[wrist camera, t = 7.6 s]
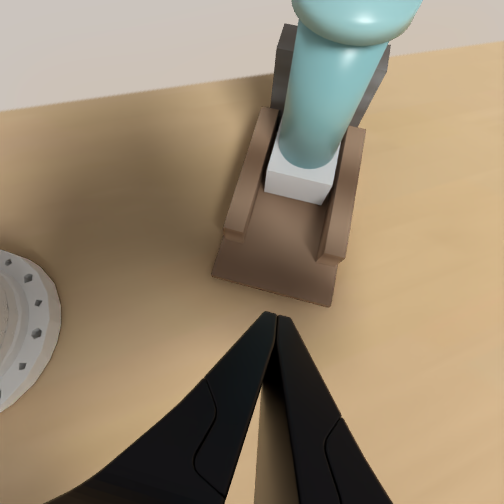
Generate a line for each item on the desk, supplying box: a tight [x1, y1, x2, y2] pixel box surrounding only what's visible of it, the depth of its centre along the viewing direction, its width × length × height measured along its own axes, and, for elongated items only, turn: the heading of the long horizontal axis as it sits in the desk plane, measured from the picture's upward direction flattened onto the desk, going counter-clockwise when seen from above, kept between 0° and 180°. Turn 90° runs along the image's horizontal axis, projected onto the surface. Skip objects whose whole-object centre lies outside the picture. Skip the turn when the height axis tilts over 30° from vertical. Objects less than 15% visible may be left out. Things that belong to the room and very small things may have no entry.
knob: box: [264, 0, 423, 205], centre depth 14 cm, size 5×4×11 cm
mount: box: [211, 24, 391, 307], centre depth 16 cm, size 14×8×7 cm, turn 165°
